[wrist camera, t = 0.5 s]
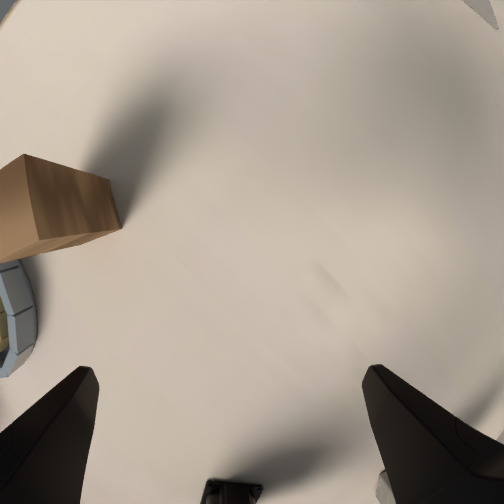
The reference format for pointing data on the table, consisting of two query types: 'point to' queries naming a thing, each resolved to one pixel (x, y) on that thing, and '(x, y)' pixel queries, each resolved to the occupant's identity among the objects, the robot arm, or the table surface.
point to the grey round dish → (15, 317)
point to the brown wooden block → (51, 208)
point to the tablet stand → (483, 11)
